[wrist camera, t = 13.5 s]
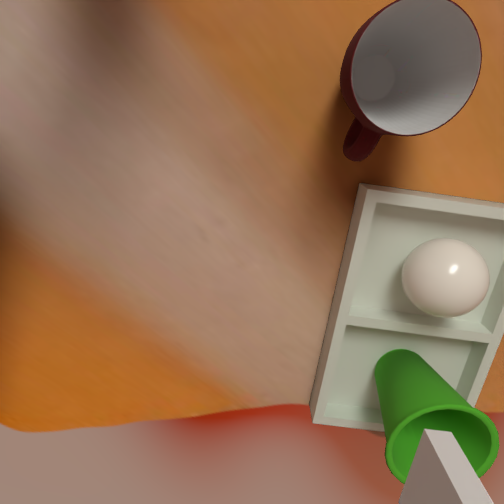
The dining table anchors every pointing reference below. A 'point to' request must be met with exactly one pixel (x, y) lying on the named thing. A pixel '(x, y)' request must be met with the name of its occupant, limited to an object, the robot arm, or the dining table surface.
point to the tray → (404, 302)
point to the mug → (408, 71)
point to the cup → (427, 413)
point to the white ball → (445, 277)
